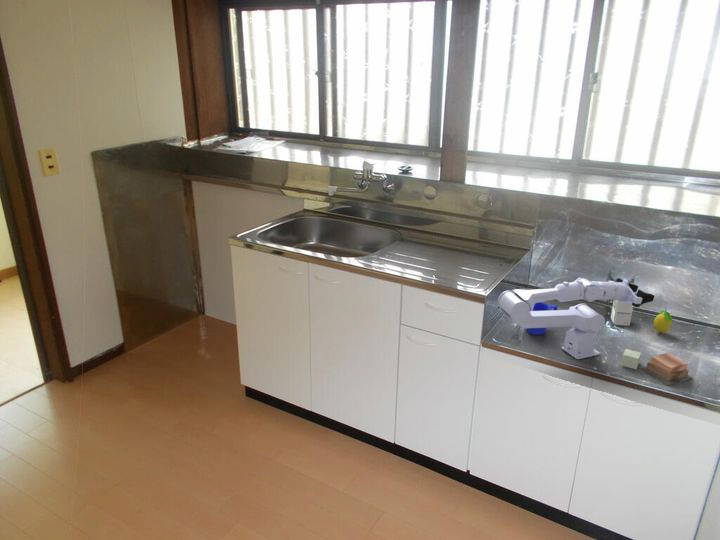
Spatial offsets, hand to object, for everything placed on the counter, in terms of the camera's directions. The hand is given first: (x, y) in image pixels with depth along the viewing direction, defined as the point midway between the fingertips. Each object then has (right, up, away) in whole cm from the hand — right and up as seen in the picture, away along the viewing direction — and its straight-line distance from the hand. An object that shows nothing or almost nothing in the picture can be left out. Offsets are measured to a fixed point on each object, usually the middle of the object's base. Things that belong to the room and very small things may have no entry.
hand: (644, 293), depth 182 cm
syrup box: (+2, -12, +23) cm, 26 cm away
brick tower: (+2, -25, -10) cm, 27 cm away
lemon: (+13, -15, +15) cm, 25 cm away
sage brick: (-7, -23, -5) cm, 24 cm away
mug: (-29, -14, +16) cm, 37 cm away
